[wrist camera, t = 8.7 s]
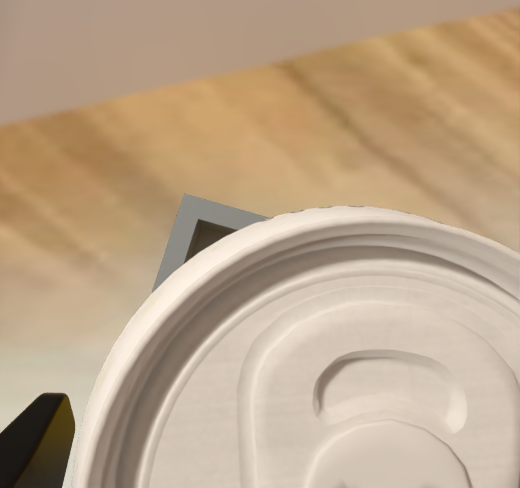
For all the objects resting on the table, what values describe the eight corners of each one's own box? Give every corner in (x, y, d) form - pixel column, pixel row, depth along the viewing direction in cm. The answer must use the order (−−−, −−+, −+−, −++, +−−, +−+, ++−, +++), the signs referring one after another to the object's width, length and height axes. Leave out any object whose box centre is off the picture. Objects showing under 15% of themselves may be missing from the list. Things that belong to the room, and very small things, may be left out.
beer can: (354, 303, 19) (712, 200, 5) (348, 465, 18) (799, 1005, 4) (203, 292, 19) (80, 147, 5) (187, 454, 18) (-46, 968, 3)
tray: (374, 543, 18) (389, 568, 16) (106, 464, 18) (90, 479, 17) (431, 276, 20) (451, 269, 18) (189, 207, 21) (183, 193, 19)
